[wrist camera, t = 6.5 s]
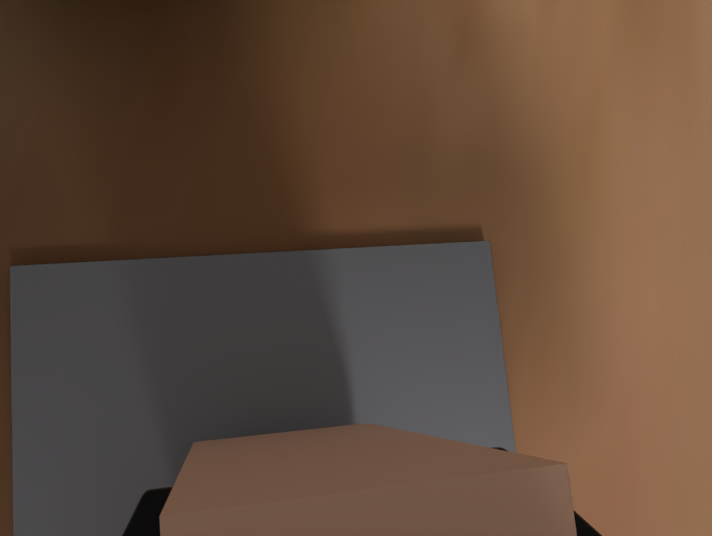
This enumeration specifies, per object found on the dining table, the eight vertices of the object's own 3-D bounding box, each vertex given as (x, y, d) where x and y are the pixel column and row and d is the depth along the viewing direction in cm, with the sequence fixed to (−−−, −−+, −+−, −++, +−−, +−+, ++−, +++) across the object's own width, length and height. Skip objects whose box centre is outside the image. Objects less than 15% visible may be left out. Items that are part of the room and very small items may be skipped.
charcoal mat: (544, 716, 17) (549, 722, 17) (21, 827, 14) (17, 837, 14) (485, 243, 19) (489, 240, 18) (13, 268, 16) (9, 265, 16)
